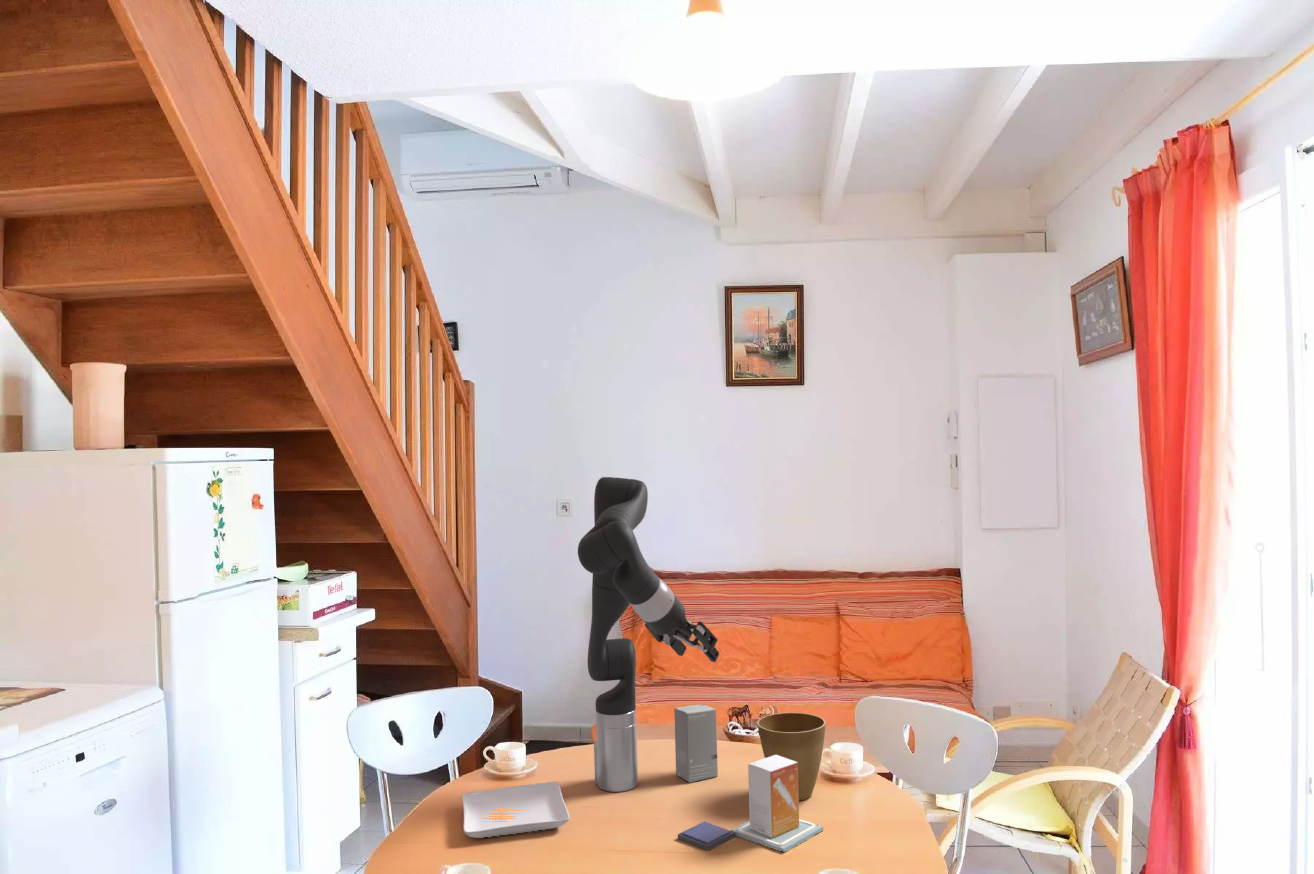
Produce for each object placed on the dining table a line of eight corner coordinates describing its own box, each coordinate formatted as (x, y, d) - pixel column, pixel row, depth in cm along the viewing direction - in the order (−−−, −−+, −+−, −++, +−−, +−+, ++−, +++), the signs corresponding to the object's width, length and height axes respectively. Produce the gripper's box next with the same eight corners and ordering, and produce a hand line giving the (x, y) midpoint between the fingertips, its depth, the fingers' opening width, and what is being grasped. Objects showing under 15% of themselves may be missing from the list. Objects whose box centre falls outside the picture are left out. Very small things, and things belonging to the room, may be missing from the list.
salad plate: (464, 848, 177) (463, 830, 177) (462, 807, 197) (461, 791, 197) (571, 834, 182) (571, 817, 182) (558, 795, 202) (558, 780, 202)
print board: (730, 833, 179) (730, 828, 179) (770, 813, 188) (770, 808, 188) (784, 853, 170) (784, 847, 170) (823, 830, 179) (823, 825, 179)
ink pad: (677, 838, 177) (677, 832, 177) (704, 825, 183) (704, 819, 183) (708, 850, 172) (708, 844, 172) (735, 836, 177) (734, 830, 177)
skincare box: (688, 783, 206) (686, 714, 206) (673, 774, 212) (671, 706, 213) (720, 776, 210) (718, 708, 210) (704, 767, 216) (702, 701, 216)
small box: (772, 839, 174) (770, 771, 174) (749, 829, 179) (746, 763, 179) (800, 827, 179) (798, 761, 179) (777, 817, 184) (775, 753, 184)
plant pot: (820, 780, 206) (817, 710, 206) (834, 806, 191) (832, 730, 191) (755, 783, 205) (752, 712, 205) (764, 809, 190) (762, 733, 191)
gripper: (693, 591, 163) (736, 643, 171) (638, 584, 173) (681, 634, 181) (674, 625, 159) (718, 677, 168) (619, 616, 169) (663, 666, 177)
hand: (699, 654), depth 174 cm, fingers open, 8 cm apart
